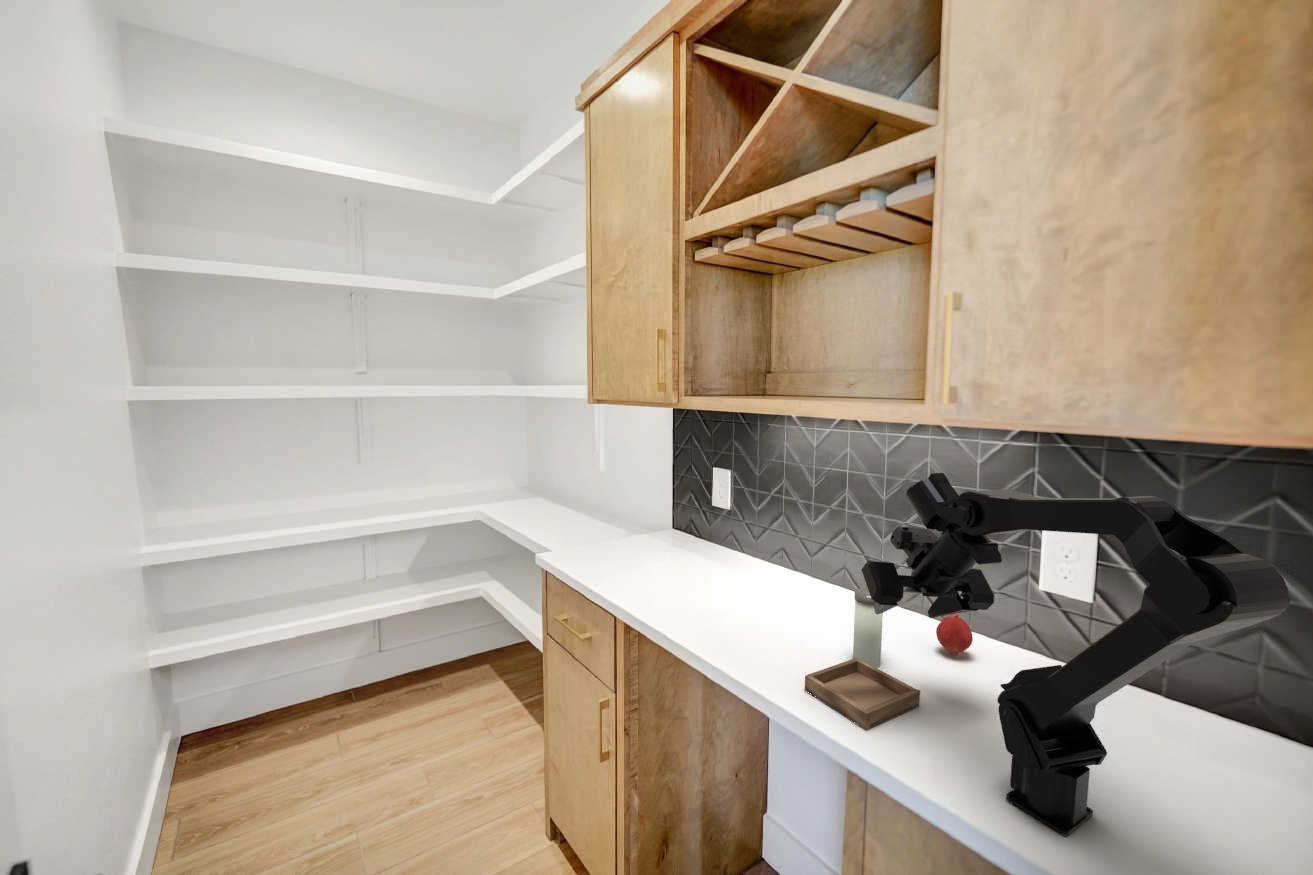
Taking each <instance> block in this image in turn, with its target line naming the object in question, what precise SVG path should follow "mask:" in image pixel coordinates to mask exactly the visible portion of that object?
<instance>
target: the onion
mask: <svg viewBox="0 0 1313 875" xmlns="http://www.w3.org/2000/svg"><path fill="white" fill-rule="evenodd" d="M935 631H936V638H937V640H938V642H939V644H940V645H941V646H942V647H943V648H944V649H945V651H947V652H948V653H949V654H950V655H953V656H957V655H959V654H960V653H963V652H964V651H966V650H967V649H969V648H970V647H971V646H972V643H973V640H974V639H973V632H972V629H971V627H970V626H969V624H968V623H967V622H966V621H965V620H964V619H962V618H961V617H960V613H957V614H951V615H947V616H946V617H945V618H943V619H942V620H941V621H940V622H939V624H938V625H937V626H936V630H935Z"/></svg>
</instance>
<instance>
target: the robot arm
mask: <svg viewBox="0 0 1313 875" xmlns="http://www.w3.org/2000/svg"><path fill="white" fill-rule="evenodd" d="M905 497H906V499H907V501H908V502H909V504H910V505H911V507H912V508H913V510H914V512H915V513H916V515H917V516H918V518H919V519H920V521H921V522H922V524H923V525H924V527H925V528H924V527H913V526H912V527H910V526H899V525H898V526H897V527H896V528H895V529H894V530H893V531H892V532H891V536H890V538H889V539H890V543H891V544H892V545H893V547H894V548H895V549H896V550H898V551H899V550H901V551H903V552H904V554H906V556H907V559H906V560H905V562H906V565H907V567H908V568H909V569H911V572H910V573H911V574H910V575H907V574H906V575H903V574H899V573H898V571H897V570H898V569H897V568H896V565H895V563H894V562H892V561H888V560H877V559H876V560H875V559H874V560H873V559H868V560H867V561H866V562H865V564H864V565H863V567H862V568H861V572H862V575H863V577H864V582H865V584H866V588H868V590H869V593H870V596H871V599H872V600H873V601H875V603H874V611H875V613H876V614H881V613H883V614H884V613H885V612H887V611H890V610H891V609H893V608H895V607H898V605H899V603H898V602H901V601H902V600H903V598H904V593H909V594H910V593H912V594H921V595H922V596H923V597H932V598H933V597H934V598H936V599H935V600H934V601H933V603H932V604H931V606H930V607H929V608H928V610H927V614H928V617H929V618H930V619H934V618H939V617H944V616H951V615H953V614H957V613H959V614H962V613H970V612H978V611H981V610H982V611H983V610H984V611H987V610H989V609H990V608H991V607H992V605H993V604H995V599H996V598H995V594H994V592H993V590H992V588H991V586H990V584H989V582H988V580H987V578H986V576H985V575H984V573H983V570H982V569H980V568H976V567H975V566H976V565H992V564H994V565H995V564H1001V563H1002V562H1003V559H1002V554H1001V552H1000V550H999V544H998V543H997V542H993V540H992V539H991V538H990V536H989V535H991V536H992V535H1000V534H1001V535H1003V534H1006V535H1007V534H1016V533H1022V532H1029V531H1041V532H1060V533H1072V534H1073V533H1075V534H1076V533H1078V534H1088V535H1089V534H1091V535H1107V536H1109V535H1110V536H1114V537H1116V539H1117V540H1118V541H1119V542H1121V543H1122V544H1123V546H1124V549H1125V551H1126V554H1127V556H1128V557H1129V559H1130V561H1131V564H1132V566H1133V569H1134V570H1135V571H1136V573H1138V575H1140V576H1141V577H1142V578H1143V579H1144V581H1146V582H1148V584H1147V585H1146V586H1145V587H1144V589H1143V593H1142V597H1141V603H1140V607H1139V608H1138V609H1137V611H1135V612H1134V613H1133V614H1132V615H1131V616H1129V617H1128V618H1126V619H1125V620H1123V621H1122V622H1120V624H1118V625H1117V626H1115V627H1114V628H1113V629H1111V630H1110V631H1109V632H1107V633H1106V634H1105V635H1103V636H1102V637H1100V638H1099V639H1098V640H1097V641H1095V642H1093V643H1092V644H1091V645H1090V646H1088V647H1087V648H1086V649H1084V650H1083V651H1081V652H1080V653H1079V654H1077V655H1076V656H1075V657H1074V658H1072V659H1071V660H1070V661H1068V662H1066V663H1065V664H1064V665H1061V664H1058V665H1056V664H1055V665H1050V666H1049V665H1048V666H1042V667H1037V668H1029V669H1021V670H1019V671H1018V672H1017V673H1016V674H1015V675H1014V676H1013V678H1012V679H1011V680H1010V681H1009V682H1007V683H1006V682H1005V683H1002V684H1000V688H1001V689H1003V691H1001V692H1000V694H999V695H998V696H997V703H998V708H997V709H998V717H999V721H1000V726H1001V730H1002V735H1003V740H1004V744H1005V749H1006V751H1007V753H1009V754H1010V755H1012V756H1011V762H1010V763H1011V765H1010V766H1011V767H1010V780H1009V785H1010V788H1011V789H1012V790H1010V791H1008V792H1007V793H1005V794H1006V797H1005V799H1006V801H1008V802H1009V803H1011V804H1012V805H1014V806H1015V807H1017V808H1019V809H1020V810H1022V811H1023V812H1025V813H1026V814H1028V815H1030V816H1032V817H1033V818H1035V819H1037V820H1038V821H1040V822H1041V823H1043V824H1045V825H1046V826H1048V827H1050V828H1051V829H1052V830H1054V831H1055V832H1058V833H1059V834H1061V835H1063V836H1069V835H1071V833H1073V832H1074V831H1075V830H1077V829H1078V828H1079V827H1080V826H1081V825H1083V824H1084V823H1086V821H1088V820H1089V819H1091V818H1092V817H1093V816H1094V810H1093V809H1092V808H1090V807H1089V806H1088V795H1089V786H1090V785H1089V782H1090V775H1091V774H1090V771H1091V768H1089V767H1088V766H1094V765H1095V766H1099V765H1101V764H1102V763H1103V761H1104V760H1105V759H1106V756H1107V755H1108V752H1107V750H1106V748H1105V746H1104V745H1103V743H1102V741H1101V740H1100V737H1099V736H1098V734H1097V733H1096V731H1095V729H1094V728H1093V726H1092V724H1091V722H1092V721H1093V720H1094V719H1095V714H1096V707H1097V706H1098V704H1099V703H1100V702H1102V701H1104V700H1105V699H1107V698H1109V697H1110V696H1112V695H1113V694H1115V693H1117V692H1118V691H1119V690H1121V689H1123V688H1124V687H1126V686H1128V685H1129V684H1130V683H1132V682H1134V681H1136V680H1137V679H1139V678H1140V677H1142V676H1144V675H1145V674H1147V673H1148V672H1150V671H1151V670H1153V669H1155V668H1156V667H1158V666H1159V665H1161V664H1164V662H1166V661H1167V660H1169V659H1171V658H1172V657H1174V656H1175V655H1177V654H1178V653H1180V652H1182V651H1183V650H1185V649H1187V648H1188V647H1189V646H1191V645H1193V644H1194V643H1196V642H1200V641H1203V640H1206V639H1209V638H1212V637H1213V638H1214V637H1216V636H1220V635H1224V634H1228V633H1231V632H1235V631H1237V630H1241V629H1245V628H1247V627H1250V626H1253V625H1256V624H1259V623H1262V622H1265V621H1268V620H1271V619H1274V618H1275V617H1278V616H1280V615H1282V613H1284V612H1285V611H1286V610H1287V609H1288V607H1289V605H1290V602H1291V598H1290V597H1289V590H1288V589H1289V588H1288V586H1287V583H1286V581H1285V579H1284V577H1283V575H1282V574H1281V573H1280V572H1279V570H1277V569H1276V568H1275V567H1274V566H1273V565H1271V563H1268V562H1267V560H1266V561H1265V559H1262V558H1260V557H1258V556H1255V555H1252V554H1249V553H1248V552H1246V551H1245V550H1244V549H1243V548H1241V547H1240V545H1238V544H1236V543H1235V542H1234V541H1233V540H1232V539H1230V538H1229V537H1227V536H1225V535H1223V534H1221V533H1219V532H1217V531H1215V530H1213V529H1212V528H1210V527H1208V526H1206V525H1204V524H1202V523H1200V522H1198V521H1196V520H1195V519H1193V518H1191V517H1189V516H1187V515H1186V514H1185V513H1183V512H1182V511H1181V510H1180V509H1178V508H1177V507H1176V506H1175V505H1173V504H1172V503H1170V502H1169V501H1167V500H1166V499H1164V498H1161V497H1159V496H1155V495H1154V496H1153V495H1142V496H1141V495H1140V496H1122V497H1117V498H1116V497H1115V498H1114V497H1113V498H1112V497H1107V498H1105V497H1103V498H1102V497H1101V498H1099V497H1092V498H1091V497H1089V498H1088V497H1084V498H1083V497H1082V498H1081V497H1079V498H1078V497H1077V498H1076V497H1075V498H1072V497H1067V498H1066V497H1065V498H1063V497H1061V498H1059V497H1058V498H1057V497H1056V498H1055V497H1054V498H1053V497H1051V498H1049V497H1048V498H1047V497H1046V498H1045V497H1043V498H1042V497H1038V496H1034V495H1031V494H1029V493H1027V492H1021V491H1015V490H1012V489H990V490H989V489H988V490H985V489H984V490H967V491H964V492H961V493H960V494H958V493H957V491H956V489H955V488H954V487H953V485H952V484H951V483H950V481H949V479H948V477H947V476H946V474H945V473H944V472H932V473H930V475H929V476H928V477H926V478H924V479H921V480H919V481H918V482H916V483H914V484H913V485H911V486H910V487H909V488H908V489H907V490H906V492H905ZM934 530H935V531H937V532H941V533H940V534H939V535H938V536H937V535H936V534H935V533H934V532H933V531H934ZM1177 553H1178V554H1180V555H1181V556H1183V557H1180V556H1179V555H1178V554H1177Z"/></svg>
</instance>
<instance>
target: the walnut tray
mask: <svg viewBox="0 0 1313 875" xmlns="http://www.w3.org/2000/svg"><path fill="white" fill-rule="evenodd" d="M805 690H806V691H807V692H806V691H805ZM804 691H805V692H806V693H808V692H809V693H811V694H812V695H814V696H816V697H817V698H818V699H820V700H821V701H820V700H819V701H820V702H822V703H823V702H824V703H823V704H825V705H826V704H827V705H826V706H828V707H829V708H831V709H832V708H833V709H832V710H834V709H835V710H836V711H835V710H834V711H835V712H837V711H838V712H839V714H840V713H841V714H843V715H844V716H843V715H842V716H843V717H845V716H846V717H847V718H846V717H845V718H846V719H848V718H849V719H850V720H849V719H848V720H849V721H851V720H852V721H853V722H852V721H851V722H852V723H854V722H855V723H857V724H858V725H859V726H858V725H857V724H856V725H857V726H858V727H860V728H861V727H862V728H861V729H863V730H864V729H865V730H864V731H868V730H870V729H872V728H875V727H877V726H879V725H882V724H885V723H886V722H888V721H890V720H892V719H893V720H894V719H895V718H897V717H899V716H902V715H904V714H906V713H908V712H911V711H912V710H915V709H917V708H919V707H920V703H921V702H920V700H921V690H919V689H917V688H916V687H913V686H911V685H909V684H907V683H905V682H904V681H902V680H900V679H899V678H896V677H894V676H892V675H890V674H888V673H887V672H884V671H883V670H881V669H879V668H878V667H876V668H875V667H873V666H871V665H870V664H868V663H866V662H864V661H862V660H860V659H858V658H854V659H853V658H852V659H849V660H845V661H842V662H840V663H838V664H835V665H832V666H829V667H826V668H822V669H820V670H818V671H814V672H812V673H809V674H806V675H804ZM809 693H808V694H809ZM811 694H810V695H811ZM812 695H811V696H812ZM814 696H813V697H814ZM817 698H816V699H817ZM818 699H817V700H818ZM838 712H837V713H838ZM841 714H840V715H841ZM855 723H854V724H855Z"/></svg>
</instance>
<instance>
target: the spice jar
mask: <svg viewBox="0 0 1313 875" xmlns="http://www.w3.org/2000/svg"><path fill="white" fill-rule="evenodd" d="M853 599H854V621H853V622H854V623H853V642H852V643H853V645H852V646H853V648H852V659H854V658H858V659H860V660H862V661H864V662H866V663H868V664H870V665H871V666H873V667H875V668H878V667H880V666H881V662H882V661H881V660H882V635H883V618H884V617H883V616H884V615H883V614H884V612H883V613H881V614H876V613H875V611H874V603H875V601H873V600H872V599H871V596H870V593H869V590H868V587H866V588H865V587H864V588H856V589H855V590H854V598H853Z"/></svg>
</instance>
